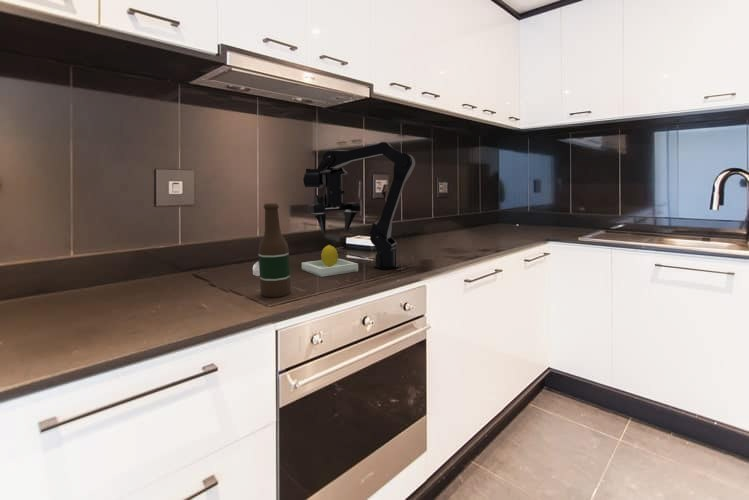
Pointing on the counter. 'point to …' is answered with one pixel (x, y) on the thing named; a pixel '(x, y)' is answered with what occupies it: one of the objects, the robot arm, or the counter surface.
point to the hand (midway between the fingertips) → (335, 232)
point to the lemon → (329, 256)
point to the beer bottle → (273, 256)
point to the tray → (323, 270)
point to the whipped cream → (256, 269)
